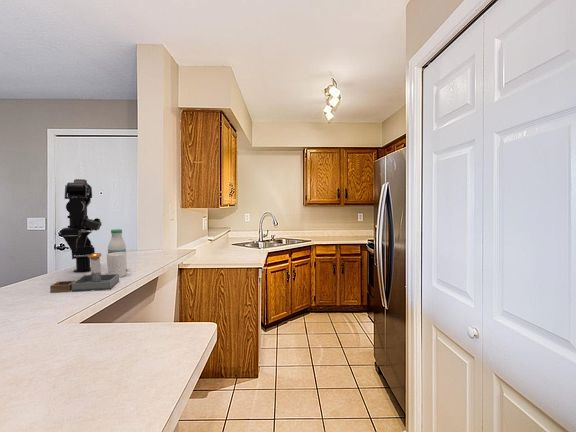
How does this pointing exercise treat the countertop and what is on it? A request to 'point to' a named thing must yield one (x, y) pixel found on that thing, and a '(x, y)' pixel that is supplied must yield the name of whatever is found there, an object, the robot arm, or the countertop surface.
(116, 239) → the milk bottle
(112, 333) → the countertop surface
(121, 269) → the white cup
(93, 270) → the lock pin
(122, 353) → the countertop surface
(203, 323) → the countertop surface
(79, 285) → the tray
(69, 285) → the socket block
